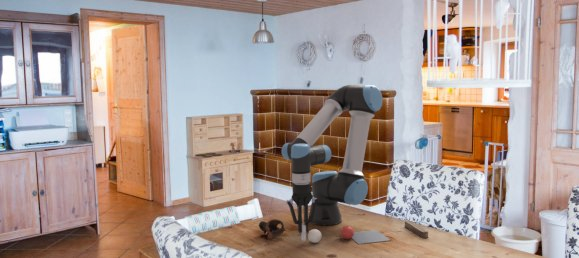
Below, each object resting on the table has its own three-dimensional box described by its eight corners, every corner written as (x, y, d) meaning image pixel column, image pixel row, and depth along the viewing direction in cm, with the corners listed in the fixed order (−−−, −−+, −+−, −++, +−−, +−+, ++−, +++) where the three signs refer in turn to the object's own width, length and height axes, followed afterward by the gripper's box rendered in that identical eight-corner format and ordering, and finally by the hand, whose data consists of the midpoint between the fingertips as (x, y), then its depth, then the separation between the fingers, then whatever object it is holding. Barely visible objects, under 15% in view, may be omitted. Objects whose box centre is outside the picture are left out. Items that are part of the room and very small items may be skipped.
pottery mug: (287, 233, 207) (288, 220, 202) (279, 249, 200) (280, 236, 195) (261, 225, 210) (262, 212, 205) (253, 240, 203) (253, 227, 198)
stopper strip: (422, 238, 196) (422, 232, 195) (404, 226, 211) (404, 221, 211) (428, 237, 196) (428, 231, 196) (409, 226, 212) (409, 220, 211)
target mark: (358, 244, 190) (358, 243, 190) (346, 233, 204) (346, 233, 204) (390, 240, 193) (390, 240, 193) (376, 230, 207) (376, 229, 207)
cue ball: (305, 242, 193) (304, 229, 193) (314, 239, 197) (314, 226, 197) (315, 245, 190) (314, 232, 189) (324, 242, 193) (324, 229, 193)
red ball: (337, 239, 197) (337, 226, 196) (346, 236, 200) (346, 223, 200) (348, 242, 193) (348, 229, 192) (356, 239, 196) (356, 226, 196)
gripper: (287, 186, 185) (289, 244, 188) (319, 183, 187) (321, 241, 190) (283, 182, 192) (286, 238, 195) (315, 179, 195) (316, 235, 198)
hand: (303, 239), depth 193 cm, fingers closed
